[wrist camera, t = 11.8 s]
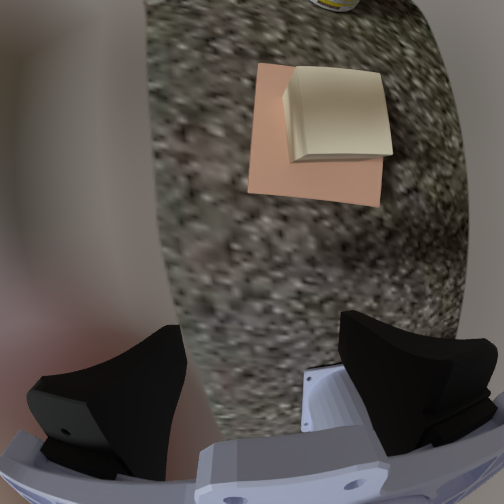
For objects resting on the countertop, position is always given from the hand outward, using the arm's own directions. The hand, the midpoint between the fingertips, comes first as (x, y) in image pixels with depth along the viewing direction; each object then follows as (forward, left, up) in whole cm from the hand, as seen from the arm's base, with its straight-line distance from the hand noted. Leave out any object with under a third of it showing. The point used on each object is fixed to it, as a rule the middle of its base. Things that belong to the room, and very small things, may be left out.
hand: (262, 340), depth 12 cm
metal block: (+10, -5, -7) cm, 13 cm away
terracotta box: (+10, -5, -11) cm, 15 cm away
